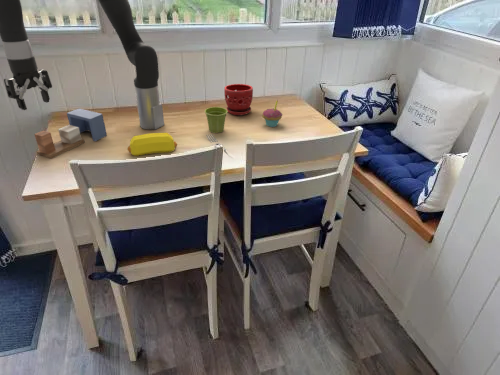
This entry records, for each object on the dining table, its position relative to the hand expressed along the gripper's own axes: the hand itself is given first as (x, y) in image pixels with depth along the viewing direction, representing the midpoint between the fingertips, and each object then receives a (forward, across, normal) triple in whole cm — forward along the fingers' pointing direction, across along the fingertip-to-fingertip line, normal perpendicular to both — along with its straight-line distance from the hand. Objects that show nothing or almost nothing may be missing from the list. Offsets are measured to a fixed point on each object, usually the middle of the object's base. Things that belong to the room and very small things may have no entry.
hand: (35, 105), depth 122 cm
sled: (+18, +5, 0) cm, 19 cm away
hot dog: (+19, +19, -31) cm, 41 cm away
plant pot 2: (+19, +71, -40) cm, 84 cm away
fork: (+19, +33, -53) cm, 65 cm away
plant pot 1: (+19, +47, -42) cm, 66 cm away
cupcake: (+19, +64, -60) cm, 90 cm away
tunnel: (+18, +18, 0) cm, 26 cm away
